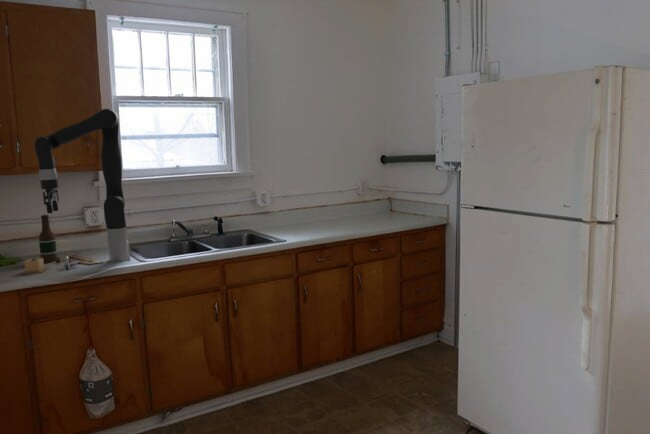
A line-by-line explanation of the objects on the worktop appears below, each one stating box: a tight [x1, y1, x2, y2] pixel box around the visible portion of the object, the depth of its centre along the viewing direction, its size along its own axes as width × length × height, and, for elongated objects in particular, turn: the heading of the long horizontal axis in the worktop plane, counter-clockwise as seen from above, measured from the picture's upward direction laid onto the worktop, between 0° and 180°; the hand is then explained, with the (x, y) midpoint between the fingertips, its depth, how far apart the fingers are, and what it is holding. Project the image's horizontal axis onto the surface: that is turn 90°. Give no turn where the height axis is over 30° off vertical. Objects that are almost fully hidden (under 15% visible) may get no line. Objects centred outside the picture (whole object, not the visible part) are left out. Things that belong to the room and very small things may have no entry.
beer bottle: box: [38, 214, 58, 264], centre depth 273 cm, size 8×8×24 cm
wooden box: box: [21, 257, 50, 275], centre depth 248 cm, size 9×9×7 cm
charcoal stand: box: [56, 256, 79, 272], centre depth 252 cm, size 7×7×6 cm
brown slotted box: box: [23, 257, 45, 272], centre depth 248 cm, size 6×6×5 cm
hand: (52, 212), depth 259 cm, fingers open, 8 cm apart
